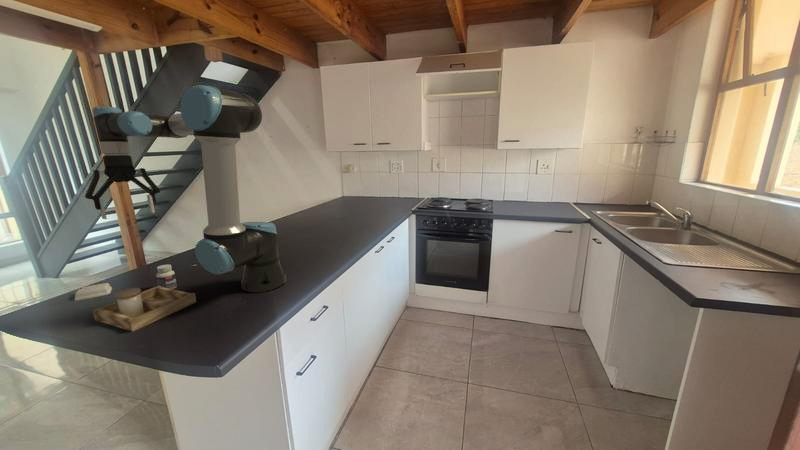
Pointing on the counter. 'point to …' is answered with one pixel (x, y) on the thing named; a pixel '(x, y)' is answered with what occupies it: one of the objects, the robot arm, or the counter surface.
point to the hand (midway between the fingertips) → (129, 215)
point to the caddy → (146, 308)
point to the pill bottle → (166, 277)
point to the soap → (93, 291)
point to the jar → (130, 302)
